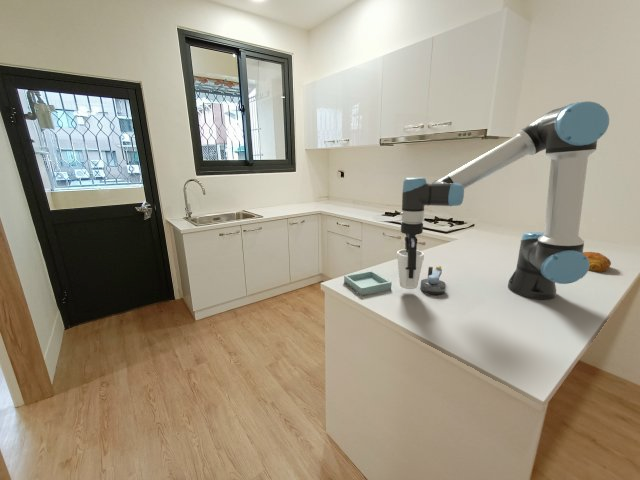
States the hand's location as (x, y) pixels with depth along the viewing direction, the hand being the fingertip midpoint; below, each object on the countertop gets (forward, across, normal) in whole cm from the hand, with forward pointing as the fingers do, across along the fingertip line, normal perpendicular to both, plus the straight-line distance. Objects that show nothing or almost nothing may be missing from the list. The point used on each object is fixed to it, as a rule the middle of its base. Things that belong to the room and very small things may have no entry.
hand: (408, 280), depth 111 cm
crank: (+2, -9, +11) cm, 14 cm away
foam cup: (+2, 0, 0) cm, 2 cm away
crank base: (+5, -6, +9) cm, 12 cm away
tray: (+5, -4, -16) cm, 17 cm away
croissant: (+7, -46, +86) cm, 98 cm away
